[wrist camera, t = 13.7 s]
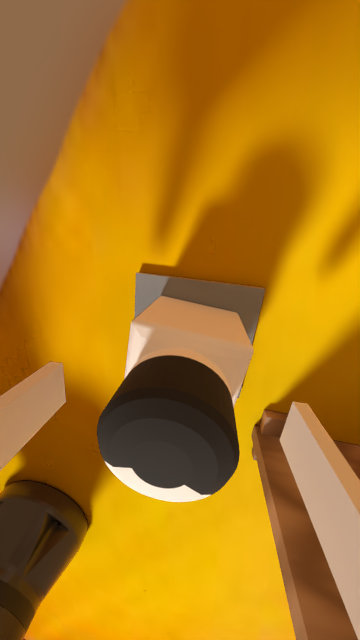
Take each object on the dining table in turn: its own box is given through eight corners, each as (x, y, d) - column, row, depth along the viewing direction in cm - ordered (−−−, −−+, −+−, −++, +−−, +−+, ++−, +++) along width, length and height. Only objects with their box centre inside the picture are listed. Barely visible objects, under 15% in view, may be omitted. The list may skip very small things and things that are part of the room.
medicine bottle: (159, 294, 18) (75, 364, 7) (239, 312, 18) (289, 419, 6) (148, 362, 21) (72, 497, 9) (218, 379, 20) (227, 545, 9)
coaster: (135, 374, 22) (132, 379, 21) (139, 272, 19) (136, 272, 18) (237, 392, 21) (238, 397, 20) (263, 287, 17) (265, 288, 17)
